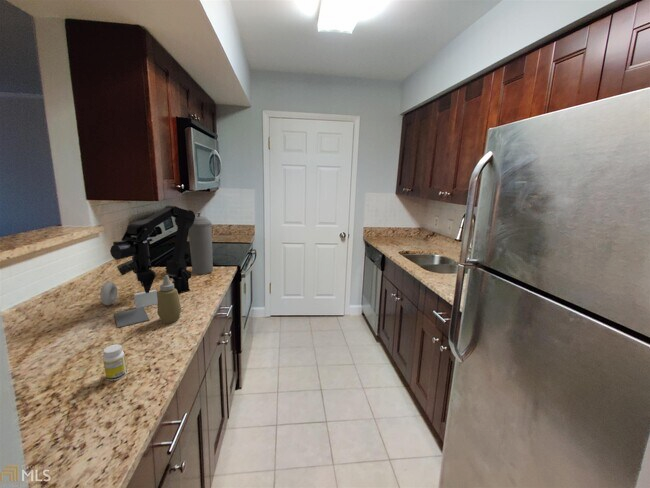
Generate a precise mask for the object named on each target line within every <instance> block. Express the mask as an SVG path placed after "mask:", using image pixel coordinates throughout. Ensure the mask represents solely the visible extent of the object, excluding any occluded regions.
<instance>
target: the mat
mask: <svg viewBox="0 0 650 488" xmlns="http://www.w3.org/2000/svg"><path fill="white" fill-rule="evenodd" d="M113 314H114V318H115V323H116V326H117V327H116V328H117V329H119V328H125V327H128V326H133V325H137V324H140V323H145V322H148V321H150V318H149V316H148V314H147V311H146V310H145V307H141V308H133V309H128V310H124V311H123V310H122V311H118V312H114V313H113Z"/></svg>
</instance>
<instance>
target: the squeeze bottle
mask: <svg viewBox="0 0 650 488" xmlns="http://www.w3.org/2000/svg"><path fill="white" fill-rule="evenodd" d="M157 300H158V304H157V310H156V311H157V315H158V317H159V319H160V321H161V323H163V324H171V323H175V322H178V321H179V319H180V316H181V312H182V307H181V306H182V305H181V301H180V296H179V293H178V291H177V289H175V288H174V283H172V282H171V280H170V278H169V275H168V274H165V275H163V282H162V284H160V285H159V291H157Z"/></svg>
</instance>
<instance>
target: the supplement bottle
mask: <svg viewBox="0 0 650 488" xmlns="http://www.w3.org/2000/svg"><path fill="white" fill-rule="evenodd" d="M125 355H126V354H125V352H124V351H123V346H122V345H121V344H117V343H116V344H112V345H109V346H106V347H105V348H104V349H103V358H102V361H103V367H104V372H105V373H104V374H105V378H106V380H107V381H109V380H110V381H109V382H112V381H113V380H114V381H118V380H121V379H122V378H124V377H125V376H126V375H127V374H128V369H127V363H126V361H127V360H126V356H125ZM120 378H121V379H120ZM114 381H113V382H114Z"/></svg>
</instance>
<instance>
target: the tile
mask: <svg viewBox="0 0 650 488" xmlns="http://www.w3.org/2000/svg"><path fill="white" fill-rule="evenodd" d="M133 298H134V304H135V306H134V307H135V309H137V308H141V307H144V308H145V307H149V306H153V305H158V291H157V289H153V290H150V291H149V293H145V291H144V292H143V291H141V292H137V293H133Z"/></svg>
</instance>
